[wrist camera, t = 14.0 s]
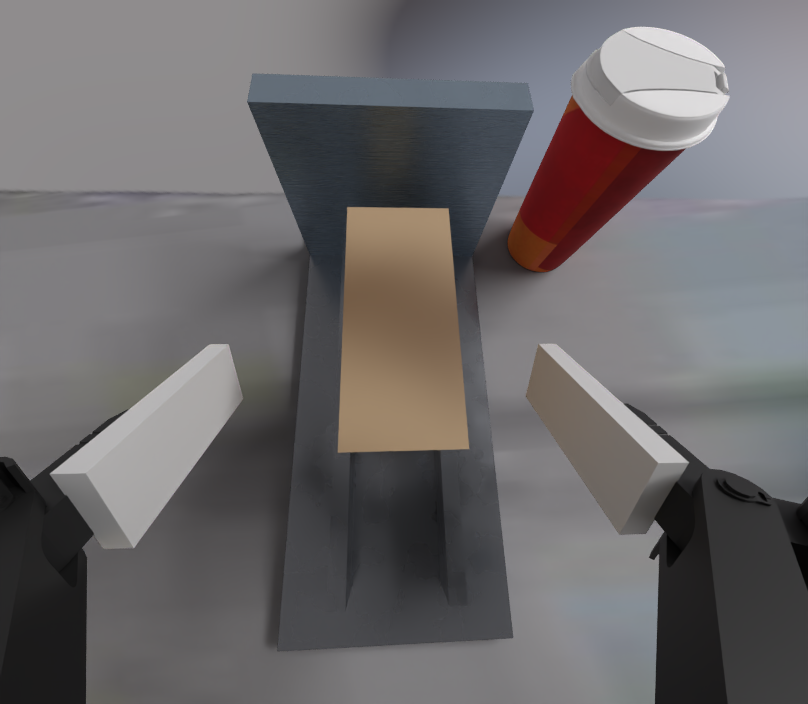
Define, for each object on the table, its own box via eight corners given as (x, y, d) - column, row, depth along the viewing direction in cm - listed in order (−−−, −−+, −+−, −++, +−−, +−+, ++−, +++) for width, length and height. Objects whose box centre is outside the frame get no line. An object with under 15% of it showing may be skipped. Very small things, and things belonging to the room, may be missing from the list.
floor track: (507, 628, 19) (714, 945, 7) (282, 641, 19) (72, 1016, 6) (466, 235, 28) (525, 70, 16) (315, 233, 28) (255, 60, 15)
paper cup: (579, 222, 30) (734, 36, 16) (574, 291, 27) (752, 138, 14) (499, 205, 30) (589, 7, 16) (488, 271, 27) (582, 103, 14)
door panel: (420, 449, 21) (469, 449, 8) (370, 450, 21) (337, 452, 8) (415, 342, 24) (448, 208, 11) (371, 343, 24) (347, 207, 10)
